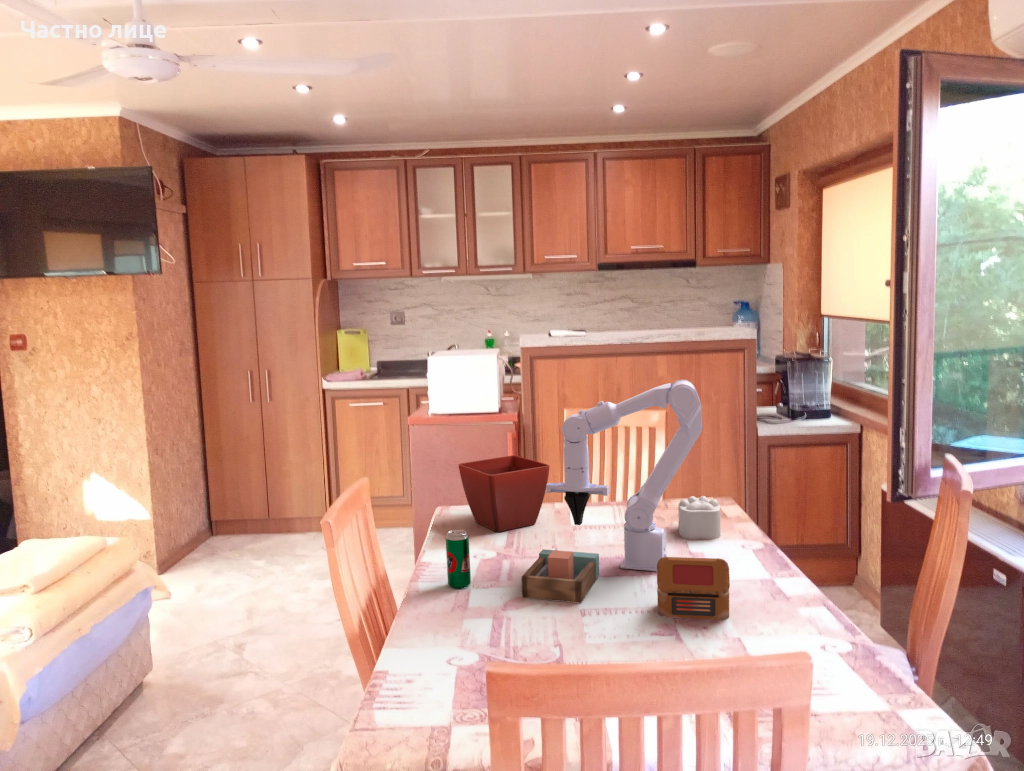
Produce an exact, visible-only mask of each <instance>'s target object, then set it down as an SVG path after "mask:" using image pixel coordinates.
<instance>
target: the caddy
mask: <svg viewBox="0 0 1024 771" xmlns="http://www.w3.org/2000/svg"><path fill="white" fill-rule="evenodd" d="M544 565H545V558H544V557H539V556H538V558H537V559H536V560H535V562H533V564H532V565H531V566H530V567H529V568H528V569H526V571H525V572H524V573H523V574H522V576H521V594H522V598H524V599H525V598H527V599H535V600H547V601H557V602H567V603H576V604H582V603H583V601H585V600H584V599H585V598H586V597H587V595H588V594H589V593H590V591H591V589H592V588H593V585H594V584H595V583H596V580H595V562H593V561H589V563H588V564H587V565H586V567H585V568H584V569H583V571H582V572H581V574H580V575H579V576H578V578H577V579H576V580H574V579H563V578H552V577H541V576H536V574H537V573H538V572H539V571H540V570H541V569H542V568H543V566H544Z"/></svg>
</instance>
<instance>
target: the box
mask: <svg viewBox="0 0 1024 771" xmlns="http://www.w3.org/2000/svg"><path fill="white" fill-rule="evenodd" d="M730 581H731V580H730V566H729V564H728V562H727V561H726V560H725V559H723V558H718V557H717V558H711V557H710V558H708V557H707V558H706V557H683V556H681V557H680V556H679V557H677V556H675V557H674V556H667V557H663V558H661V559H660V560H659V561H658V563H657V571H656V584H657V587H656V588H657V589H656V592H657V596H656V597H657V615H658V616H660V617H663V618H672V619H673V618H674V619H698V620H717V621H718V620H719V621H721V620H722V621H723V620H724V621H725V620H728V619H729V618H730V587H731V583H730Z"/></svg>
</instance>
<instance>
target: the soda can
mask: <svg viewBox="0 0 1024 771" xmlns="http://www.w3.org/2000/svg"><path fill="white" fill-rule="evenodd" d="M470 554H471V553H470V537H469V535H468V531H467V530H465V529H454V530H453V529H452V530H448V532H447V533H446V537H445V556H446V574H447V584H448V586H449V587H450V588H451V589H456V590H462V589H466V588H468V587H469V586H470V585H471V583H472V580H471V578H472V576H471V557H470Z"/></svg>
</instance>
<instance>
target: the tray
mask: <svg viewBox="0 0 1024 771" xmlns="http://www.w3.org/2000/svg"><path fill="white" fill-rule="evenodd" d="M552 551H559V550H556V549H542V550H541V551H540V552H539V553H538V558H539V557H544V558H545V565H544V566H543V568H542V569H541V570H540V571H539V572H538V573H537V574H536V576H541V577H548V556H549V555H550V554H551V552H552ZM568 551H569V552H573V566H574V580H576V579H577V578H578V576H579V575H580V574H581V572H582V571H583V569H584V568H585V567H586V565H587V564H588V563H589V561H593V562H595V581H597V580H598V579H599V577H600V553H596V552H595V553H593V552H583V551H582V552H581V551H570V550H568Z"/></svg>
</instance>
